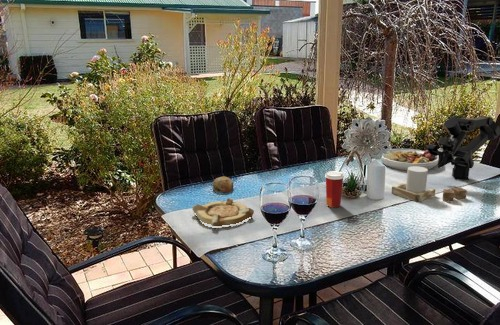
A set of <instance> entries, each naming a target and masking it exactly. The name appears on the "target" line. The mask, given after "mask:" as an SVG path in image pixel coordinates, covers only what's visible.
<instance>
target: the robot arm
mask: <svg viewBox="0 0 500 325" xmlns="http://www.w3.org/2000/svg"><path fill="white" fill-rule="evenodd" d="M443 126H444V127H445V129H446V131H447V133H448V134H449V135H450V136H449V138H448V137H443V136H440V137H439V139H438V142H437V144H438V145H440V148H439V147H438V145H436V144H432V143H430V144H427V146H426V150H428V152H429V153H430V154H431V155H434V156H438V157H439V159H438V163H437V165H436V168H437V169H441V168H443V167H444V166H446V165H448V164H451V165H452V166H453V167H452V171H451V177H453V179H454V180H457V181H458V180H460V181H469V180H470V178H469V176H470V169H473V167H474V165H475V162H474V160H473V158H472V157H473V155H474V154H475V153H476V152H477V151H478V150H479V149H480V148H481V147H482V146H484V145H485V144H486V143H487V142H488V141H492V140H495V139H497V138H499V136H500V125H499V124H498V123H497V122H496V121H494V118H493V117H491V116H484V115H482V116H479V117H475V118H464V117H463V118H462V117H458V116H451V118H448V119H447V120H445V121H444V125H443ZM476 128H478V130H479V134H477V135H476V136H475V137H474V138H473V139H472V140H471V141H470V142H469V143H468V144H466V146H461V145H462V143H463V141H464V140H467V138H468V137H467V133H466V132H469V133H471V132H473V131H474V130H475V129H476Z"/></svg>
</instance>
